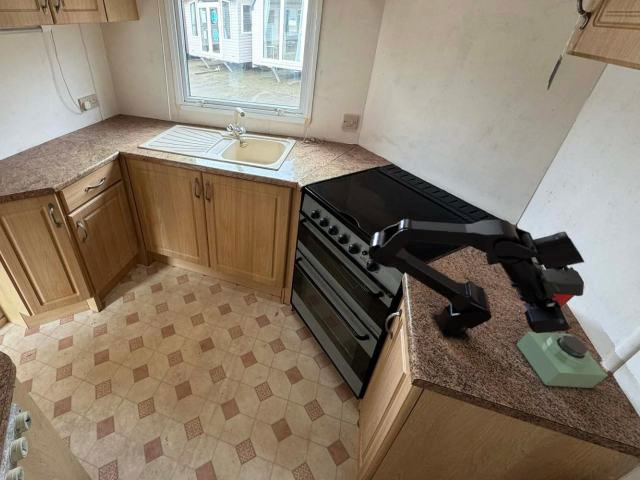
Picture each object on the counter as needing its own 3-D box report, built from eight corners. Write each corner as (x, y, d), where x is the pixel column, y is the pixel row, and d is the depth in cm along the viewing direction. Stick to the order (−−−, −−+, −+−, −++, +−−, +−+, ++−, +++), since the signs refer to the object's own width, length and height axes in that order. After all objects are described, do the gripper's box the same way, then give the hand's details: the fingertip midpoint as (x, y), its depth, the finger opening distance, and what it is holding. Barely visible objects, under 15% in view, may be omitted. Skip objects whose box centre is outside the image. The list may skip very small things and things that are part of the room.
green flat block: (545, 385, 72) (565, 368, 68) (516, 344, 80) (531, 327, 76) (591, 388, 72) (613, 371, 68) (557, 346, 80) (575, 329, 76)
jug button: (568, 357, 70) (573, 352, 69) (552, 339, 74) (557, 334, 73) (586, 358, 70) (592, 353, 69) (570, 340, 74) (576, 335, 73)
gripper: (588, 294, 56) (622, 354, 59) (553, 235, 71) (582, 285, 73) (515, 305, 63) (548, 358, 65) (497, 249, 78) (525, 294, 80)
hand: (552, 321), depth 71 cm, fingers closed
